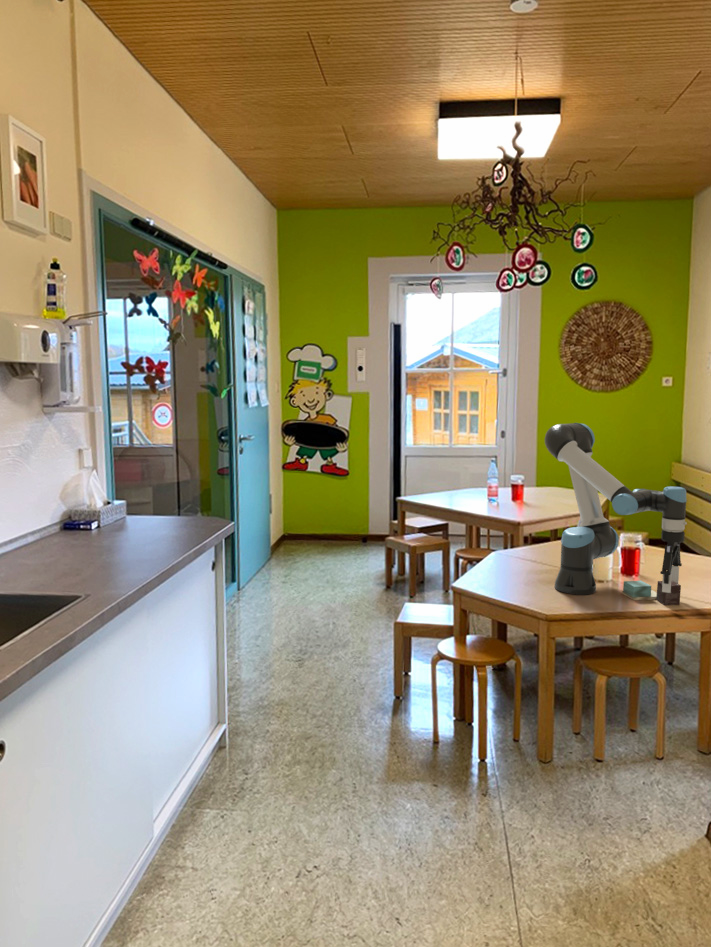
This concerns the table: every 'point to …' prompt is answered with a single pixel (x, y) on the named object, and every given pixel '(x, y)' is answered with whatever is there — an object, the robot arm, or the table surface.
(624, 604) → the table surface
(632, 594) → the teal and cream block
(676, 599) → the box
